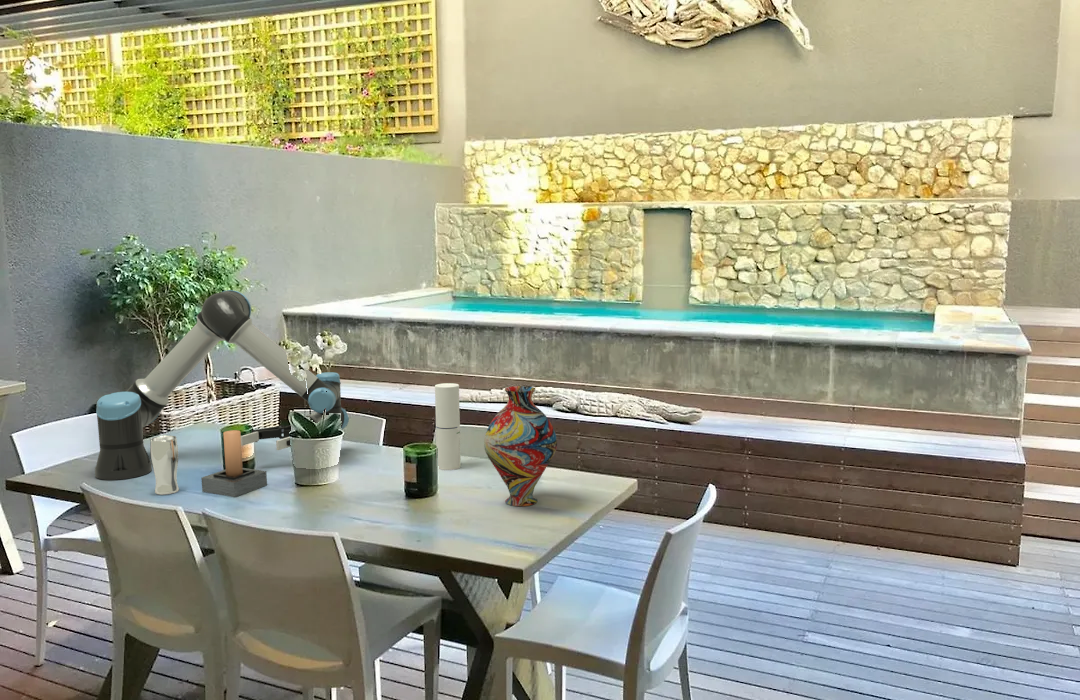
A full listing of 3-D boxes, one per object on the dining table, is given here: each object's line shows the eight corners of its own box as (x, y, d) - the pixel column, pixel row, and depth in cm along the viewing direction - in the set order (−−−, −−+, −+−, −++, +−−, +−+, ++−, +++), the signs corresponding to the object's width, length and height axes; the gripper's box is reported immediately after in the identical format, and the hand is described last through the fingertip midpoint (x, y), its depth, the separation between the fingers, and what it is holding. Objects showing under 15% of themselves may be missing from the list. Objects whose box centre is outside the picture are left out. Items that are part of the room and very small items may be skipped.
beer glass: (171, 486, 237) (168, 434, 235) (185, 490, 233) (182, 437, 231) (148, 492, 232) (144, 439, 230) (162, 496, 228) (158, 442, 226)
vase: (475, 495, 227) (473, 385, 223) (541, 487, 234) (540, 380, 230) (499, 517, 209) (497, 398, 205) (568, 507, 216) (568, 392, 212)
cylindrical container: (432, 466, 255) (430, 385, 252) (451, 462, 260) (449, 382, 257) (446, 471, 250) (444, 388, 247) (465, 466, 255) (463, 385, 252)
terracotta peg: (223, 489, 234) (219, 433, 232) (235, 485, 238) (231, 429, 236) (235, 491, 232) (231, 434, 230) (247, 487, 236) (243, 431, 234)
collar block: (202, 491, 232) (201, 475, 232) (235, 480, 243) (234, 464, 242) (235, 497, 227) (234, 480, 227) (267, 485, 238) (266, 469, 237)
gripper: (342, 443, 257) (293, 460, 238) (278, 435, 267) (227, 451, 248) (341, 419, 256) (292, 434, 237) (277, 412, 266) (226, 426, 247)
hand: (259, 443), depth 242 cm, fingers open, 13 cm apart
